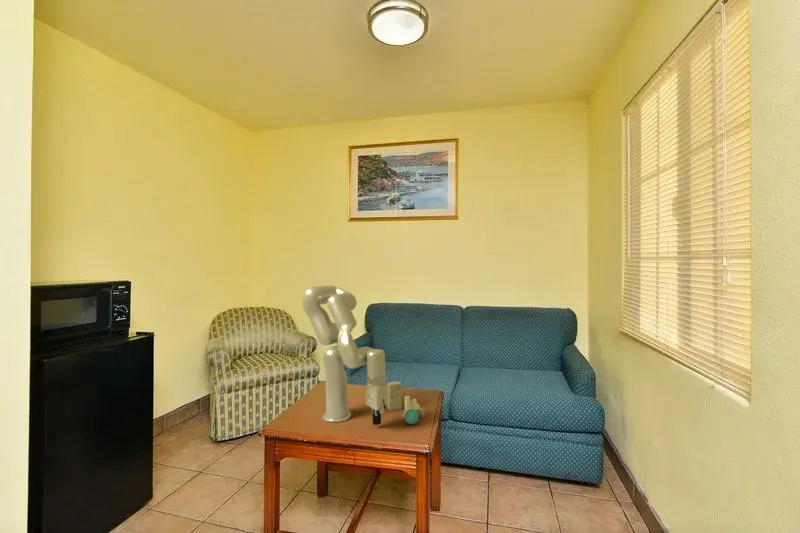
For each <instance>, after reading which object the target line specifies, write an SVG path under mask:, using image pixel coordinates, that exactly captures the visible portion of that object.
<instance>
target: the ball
mask: <svg viewBox="0 0 800 533" xmlns="http://www.w3.org/2000/svg"><path fill="white" fill-rule="evenodd" d="M404 413H405V412H404ZM404 417H405V419H404V420H405V422H406V423H407V424H408V425H415V424H416V423H417V422H418V420H419V418H420V416H418V413H417V411H415V410H414V409H409V410H407V411H406V413H405V416H404Z"/></svg>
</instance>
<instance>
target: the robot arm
mask: <svg viewBox="0 0 800 533" xmlns="http://www.w3.org/2000/svg"><path fill="white" fill-rule="evenodd" d="M301 304H302V308H303V310H304V312H305V314H306V316H307V317H308V319H309V322H310V324H311V327H312V328H313V331H314V333H315V336H316V338H317V340H318V342H319V343H320V344H321V346H330V347H329V348H327V349H326V350H325V351H324V352H323V355H322V363H323V367H324V372H325V374H324V375H325V378H324V379H325V412H324V413H322V420H323V421H325V422H327V423H341V422H345V421H347V420H349V419H350V418H351V417H352V412H351V411H350V410H349V409H348V408H349V406H348V403H349V402H348V375H347V372H346V370H345V368H344V366H346V367H347V368H348V369H352V370H353V369H358V368H360V367H363V366H366V386H365V387H366V388H365V404H366V406H368V407H369V408H370V409H371V415H372V418H371V419H372V425H374V426H378V425H380V424H382V414H384V413H385V409H387V388H386V360H385V359H386V358H385V357H386V354H385V351H384V350H383V349H378V348H376V349H375V348H372V347H369V346H361V347H357V345H356V342H355V340H354V338H353V336H352V334H351V333H352V332H353V330H354V329H355V327H356V326H357V320H356V317H355V315H354V314H353V312H352V311H353V310H354V309H356V307H357V298H356V296H355V295H353V293H351V292H350V291H347V290H345V289H343V288H340V287H338V286H335V285H317V286H311V287H309V288H307V289H306V290H305V291H304V292H303V294H302V300H301ZM326 304H327V308H328V310H329V312H330V314H331V317H332V318H333V321H334V322H333V321H332V320H331V317H330V316H329V314H328V312H327V311H326V309H324V308H323V307H322V306H321V305H326ZM334 344H336V345H334ZM331 345H333V346H331Z"/></svg>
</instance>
